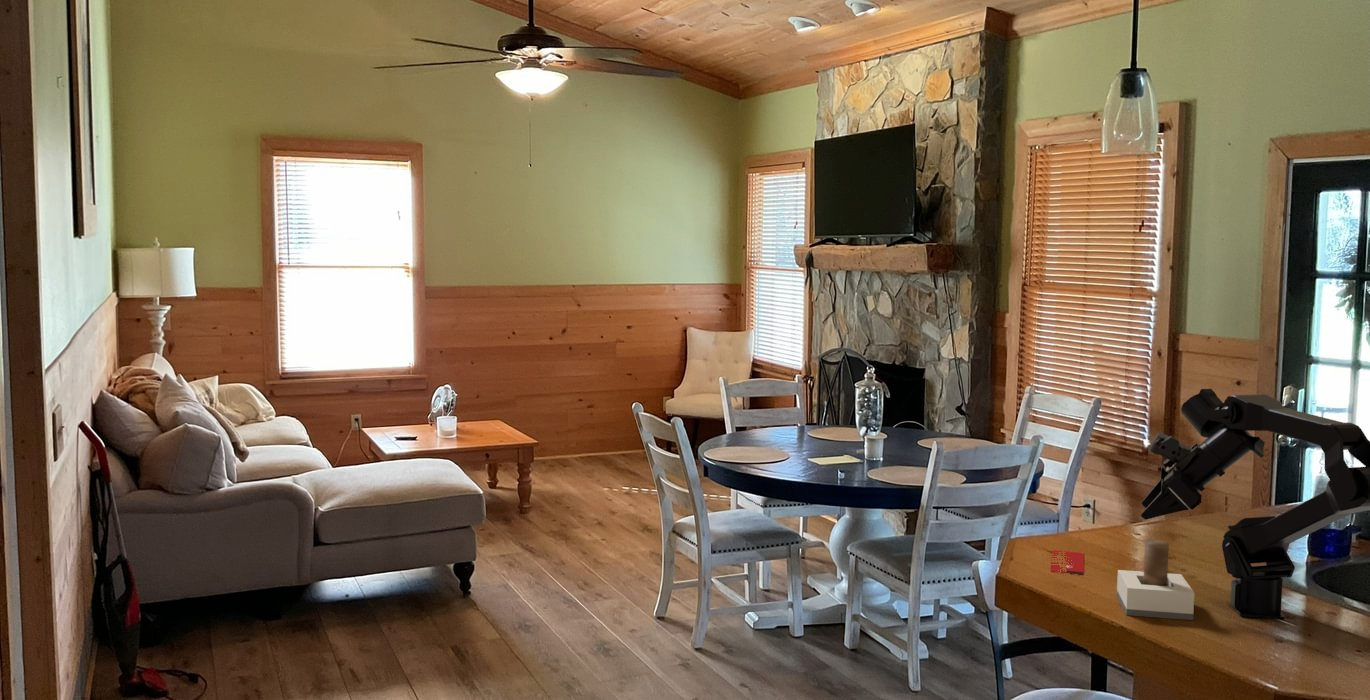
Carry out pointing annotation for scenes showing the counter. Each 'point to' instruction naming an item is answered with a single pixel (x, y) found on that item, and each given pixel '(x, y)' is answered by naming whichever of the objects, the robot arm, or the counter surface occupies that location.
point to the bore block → (1155, 596)
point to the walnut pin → (1156, 562)
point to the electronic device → (1072, 569)
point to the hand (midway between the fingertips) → (1142, 511)
